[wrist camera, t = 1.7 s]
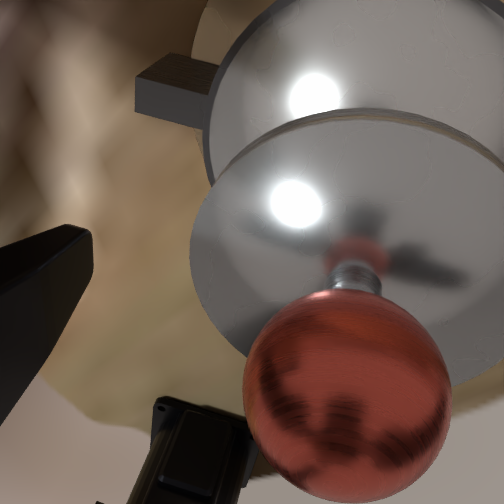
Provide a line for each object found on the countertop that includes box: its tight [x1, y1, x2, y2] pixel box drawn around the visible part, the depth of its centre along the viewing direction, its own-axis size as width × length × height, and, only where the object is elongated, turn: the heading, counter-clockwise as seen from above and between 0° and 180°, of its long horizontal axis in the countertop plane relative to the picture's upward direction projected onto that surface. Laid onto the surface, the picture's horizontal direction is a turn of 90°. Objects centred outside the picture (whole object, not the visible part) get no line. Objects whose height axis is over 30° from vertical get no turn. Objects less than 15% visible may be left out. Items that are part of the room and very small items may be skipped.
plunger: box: [189, 107, 504, 503], centre depth 7 cm, size 6×6×4 cm
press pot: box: [135, 0, 504, 188], centre depth 14 cm, size 12×12×4 cm
